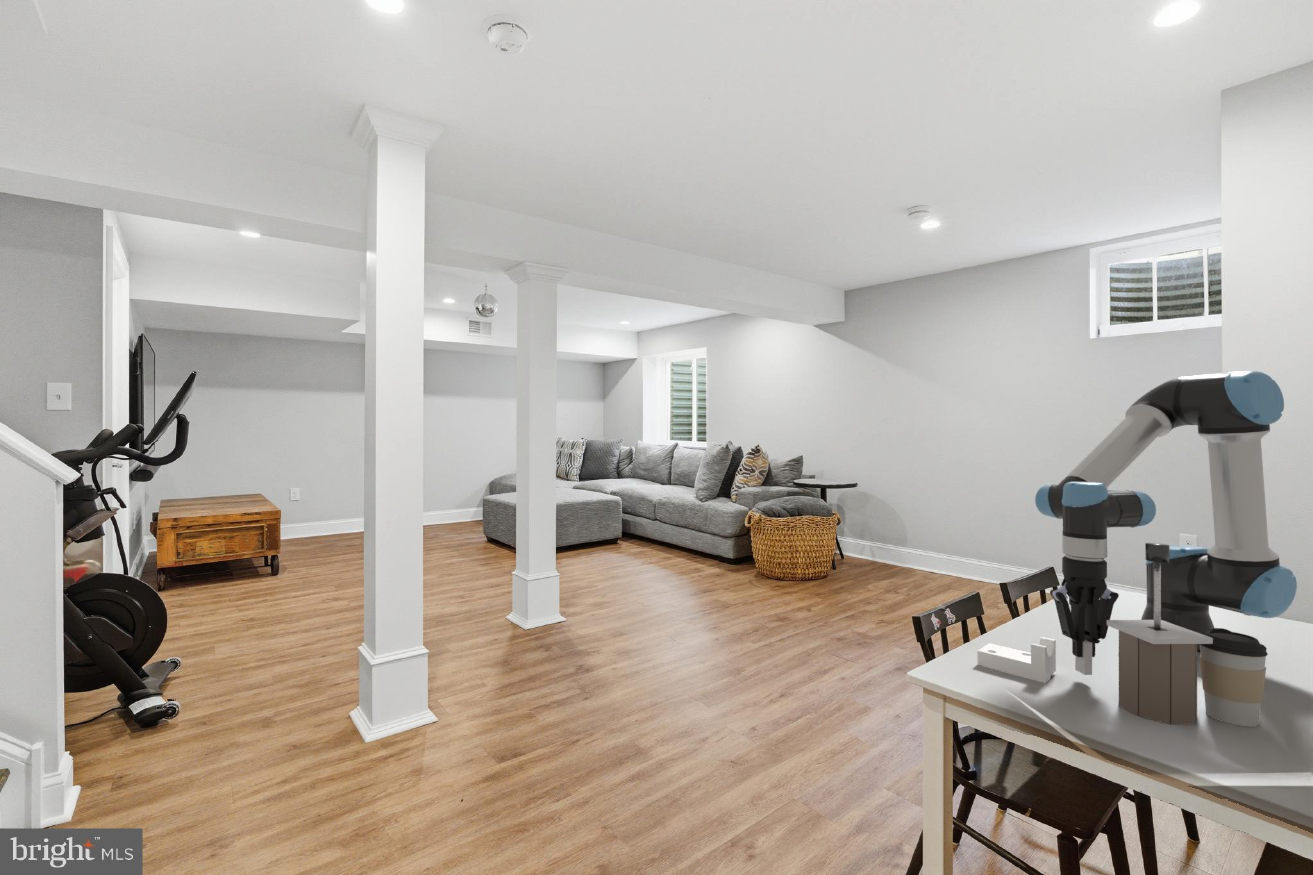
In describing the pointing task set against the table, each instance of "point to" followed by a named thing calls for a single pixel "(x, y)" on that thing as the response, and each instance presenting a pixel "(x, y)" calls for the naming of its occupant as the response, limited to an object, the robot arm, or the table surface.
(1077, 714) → the table surface
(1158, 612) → the plunger
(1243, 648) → the coffee cup
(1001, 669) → the bracket
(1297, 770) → the table surface
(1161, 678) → the brown pedestal
